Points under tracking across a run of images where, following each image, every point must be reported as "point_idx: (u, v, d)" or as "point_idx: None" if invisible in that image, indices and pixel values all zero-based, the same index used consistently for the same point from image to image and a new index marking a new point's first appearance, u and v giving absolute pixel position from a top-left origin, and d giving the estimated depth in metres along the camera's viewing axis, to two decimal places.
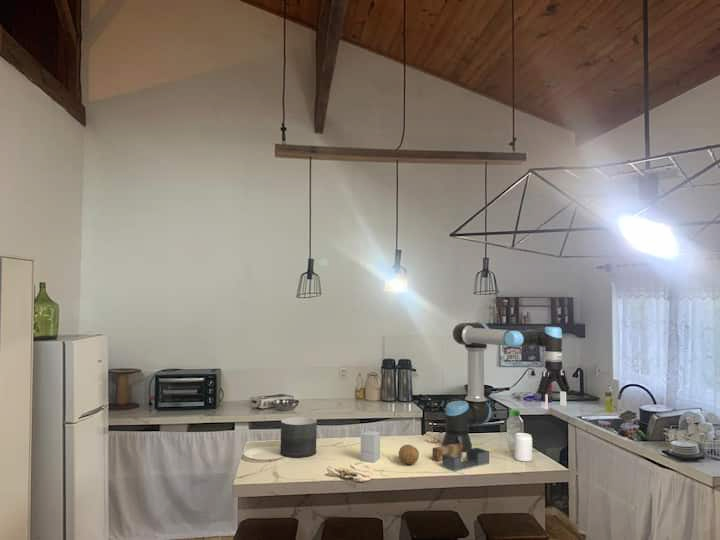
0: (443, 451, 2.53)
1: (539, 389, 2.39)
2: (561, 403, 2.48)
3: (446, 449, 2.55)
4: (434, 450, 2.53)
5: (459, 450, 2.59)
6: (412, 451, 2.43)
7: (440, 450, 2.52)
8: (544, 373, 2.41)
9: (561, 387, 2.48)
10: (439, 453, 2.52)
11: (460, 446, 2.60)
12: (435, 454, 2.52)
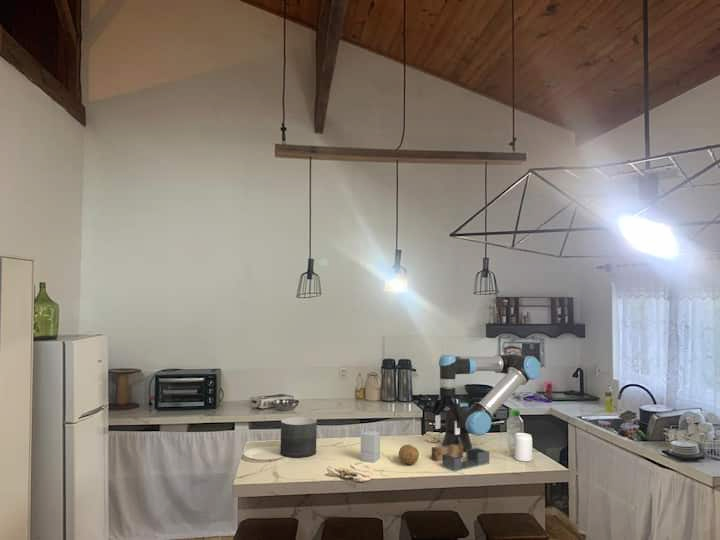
0: (442, 451, 2.54)
1: None
2: None
3: (445, 449, 2.55)
4: (433, 449, 2.54)
5: (460, 451, 2.58)
6: (412, 451, 2.43)
7: (439, 450, 2.53)
8: None
9: None
10: (438, 452, 2.53)
11: (461, 446, 2.59)
12: (434, 453, 2.53)
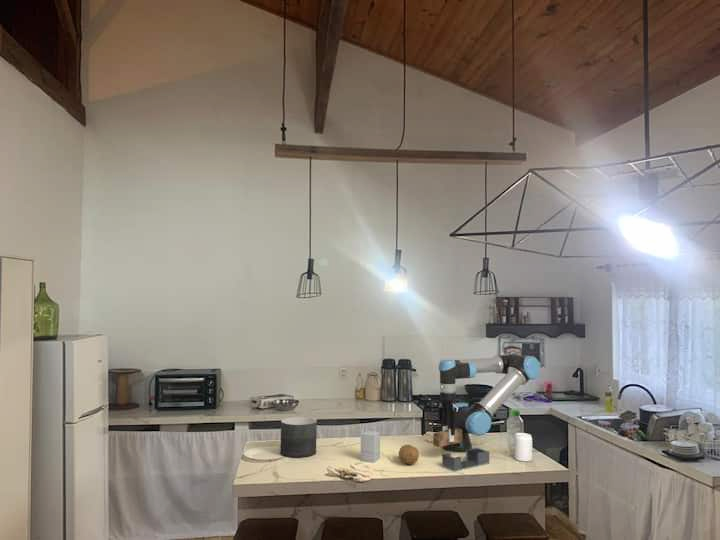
0: (444, 436, 2.54)
1: None
2: None
3: (447, 434, 2.55)
4: (435, 435, 2.53)
5: (460, 435, 2.60)
6: (412, 451, 2.43)
7: (441, 435, 2.53)
8: None
9: None
10: (440, 437, 2.52)
11: (460, 430, 2.60)
12: (436, 439, 2.53)
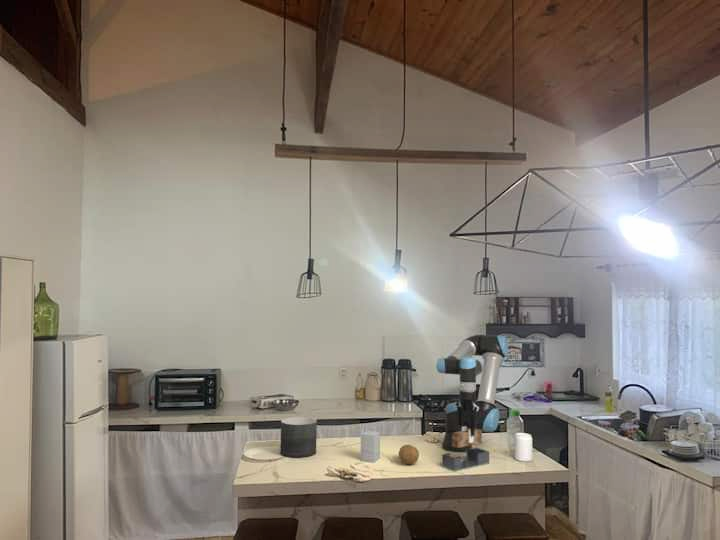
0: (463, 436, 2.44)
1: None
2: None
3: (466, 434, 2.45)
4: (454, 435, 2.43)
5: (479, 435, 2.50)
6: (412, 451, 2.43)
7: (460, 435, 2.43)
8: None
9: None
10: (459, 437, 2.42)
11: (480, 431, 2.50)
12: (455, 439, 2.43)
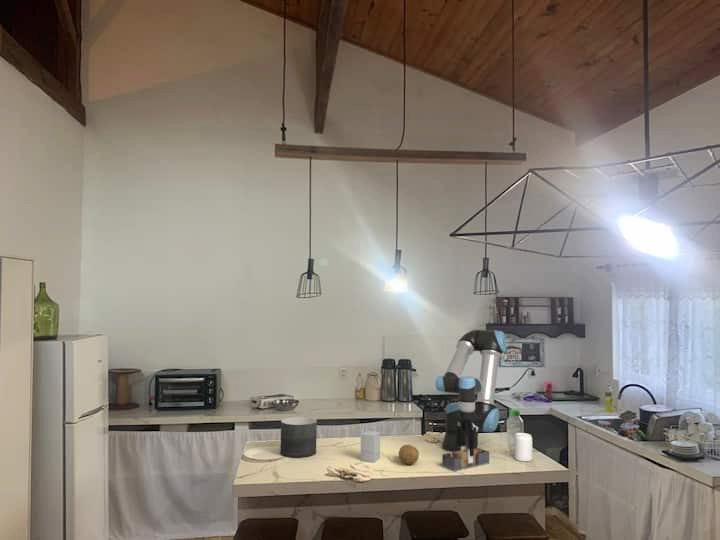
0: (463, 456, 2.43)
1: None
2: None
3: (466, 453, 2.44)
4: (453, 455, 2.43)
5: None
6: (412, 451, 2.43)
7: (460, 455, 2.42)
8: None
9: None
10: None
11: (480, 450, 2.50)
12: None
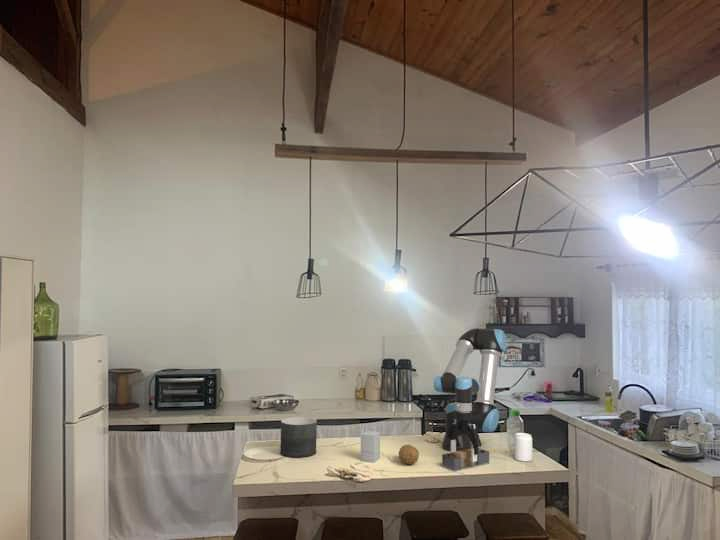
0: (461, 456, 2.43)
1: None
2: None
3: (464, 454, 2.44)
4: (452, 455, 2.42)
5: None
6: (412, 451, 2.43)
7: (458, 455, 2.42)
8: None
9: None
10: None
11: (479, 451, 2.49)
12: None
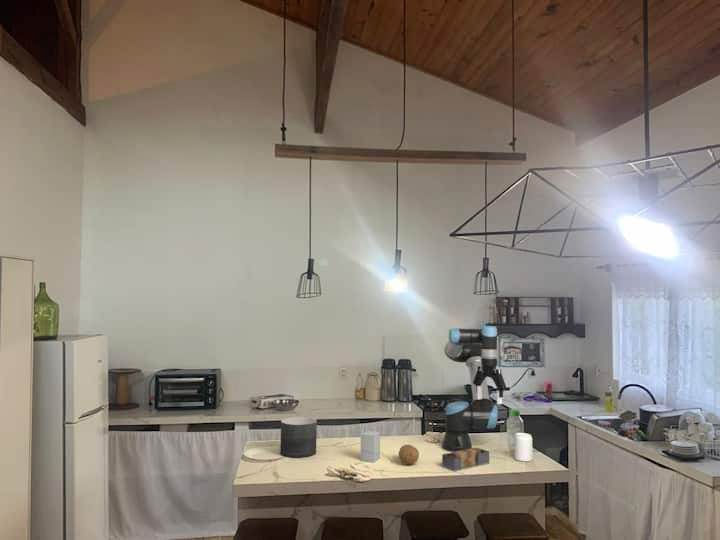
0: (461, 456, 2.43)
1: None
2: None
3: (464, 454, 2.44)
4: (452, 455, 2.42)
5: None
6: (412, 451, 2.43)
7: (458, 455, 2.42)
8: None
9: None
10: None
11: (479, 451, 2.49)
12: None
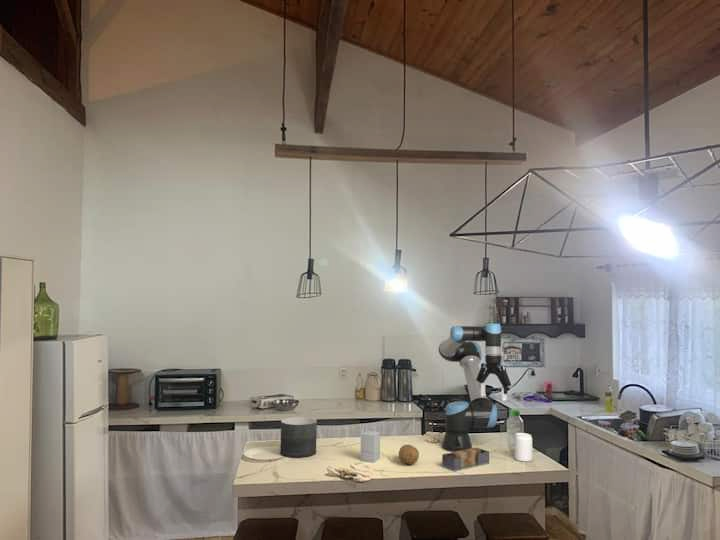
0: (461, 456, 2.43)
1: None
2: None
3: (464, 454, 2.44)
4: (452, 455, 2.42)
5: None
6: (412, 451, 2.43)
7: (458, 455, 2.42)
8: None
9: None
10: None
11: (479, 451, 2.49)
12: None
